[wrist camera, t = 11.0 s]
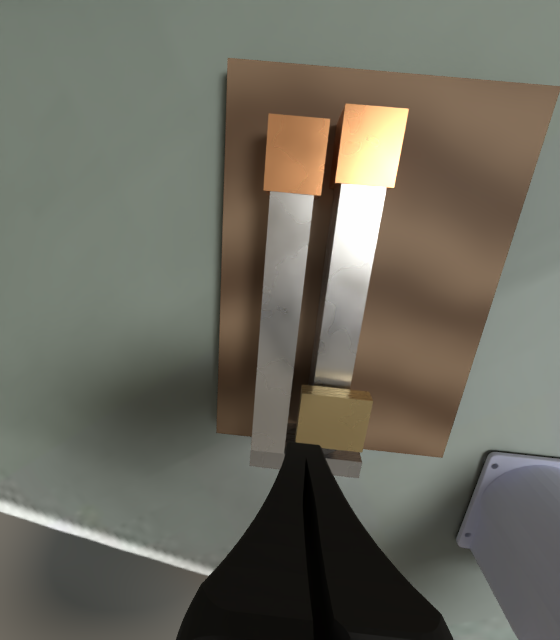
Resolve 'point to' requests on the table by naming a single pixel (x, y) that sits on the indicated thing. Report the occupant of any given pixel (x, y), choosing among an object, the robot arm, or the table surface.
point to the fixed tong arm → (287, 283)
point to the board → (383, 237)
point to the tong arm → (353, 234)
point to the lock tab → (333, 417)
